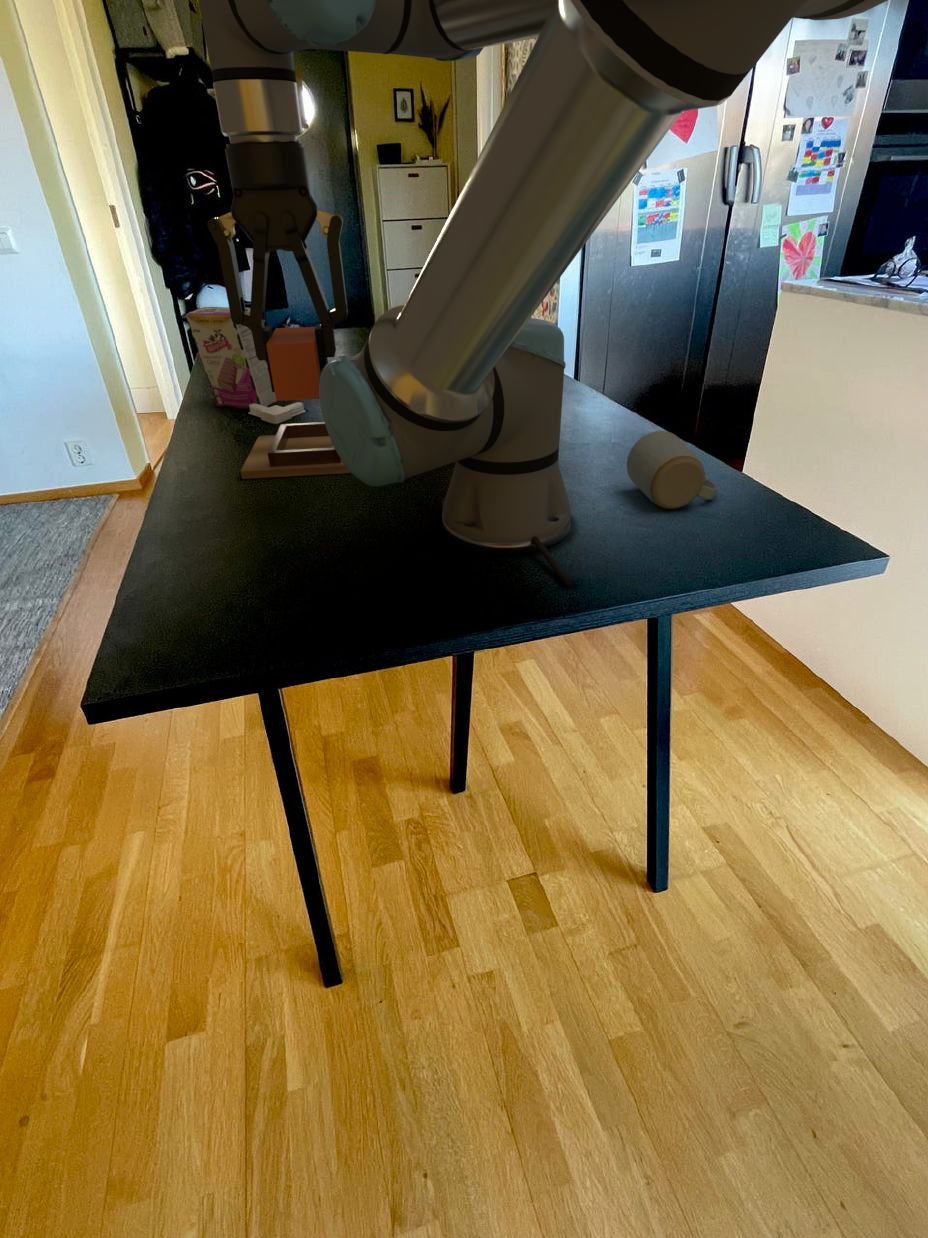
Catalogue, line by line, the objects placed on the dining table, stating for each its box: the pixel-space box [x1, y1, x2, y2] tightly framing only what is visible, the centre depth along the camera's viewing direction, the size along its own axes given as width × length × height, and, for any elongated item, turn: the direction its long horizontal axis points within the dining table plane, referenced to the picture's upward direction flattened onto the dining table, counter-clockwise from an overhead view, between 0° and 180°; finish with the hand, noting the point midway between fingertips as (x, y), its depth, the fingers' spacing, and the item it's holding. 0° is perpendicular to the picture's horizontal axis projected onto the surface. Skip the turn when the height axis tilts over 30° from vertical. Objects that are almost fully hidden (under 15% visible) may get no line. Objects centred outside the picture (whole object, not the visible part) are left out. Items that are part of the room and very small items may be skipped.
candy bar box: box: [185, 306, 278, 410], centre depth 117 cm, size 11×5×16 cm, turn 63°
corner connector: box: [248, 401, 306, 425], centre depth 118 cm, size 8×8×2 cm
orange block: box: [266, 326, 321, 402], centre depth 75 cm, size 8×5×6 cm, turn 6°
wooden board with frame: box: [239, 421, 352, 480], centre depth 99 cm, size 15×18×3 cm
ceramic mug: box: [626, 430, 719, 510], centre depth 82 cm, size 11×8×8 cm
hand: (301, 387), depth 77 cm, fingers closed on orange block, 5 cm apart
